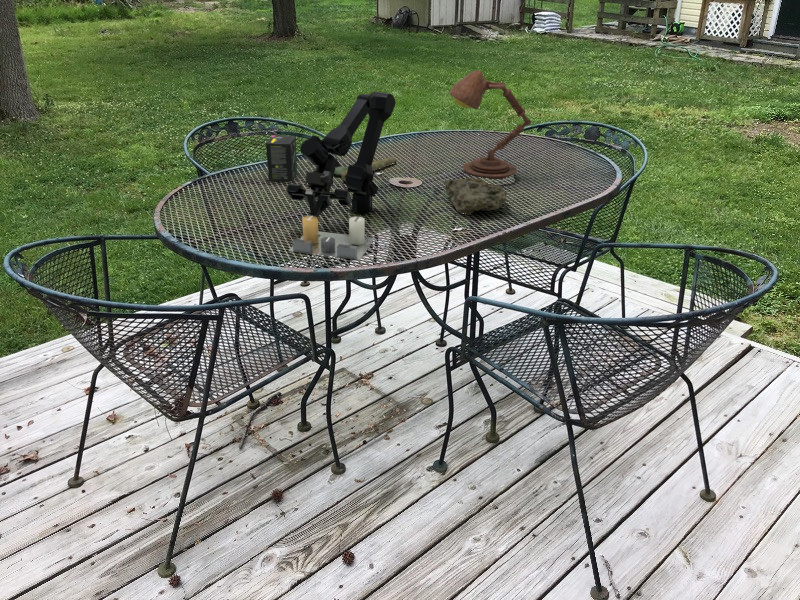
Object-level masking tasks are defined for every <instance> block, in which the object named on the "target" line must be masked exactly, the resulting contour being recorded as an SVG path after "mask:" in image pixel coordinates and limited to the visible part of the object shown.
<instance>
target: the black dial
mask: <svg viewBox="0 0 800 600" xmlns="http://www.w3.org/2000/svg"><path fill="white" fill-rule="evenodd" d="M321 251H323V252H333V251H335V239H334V238H332V237H324V238H322V239H321Z"/></svg>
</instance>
